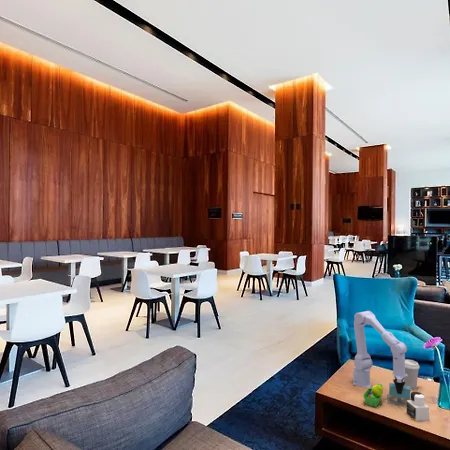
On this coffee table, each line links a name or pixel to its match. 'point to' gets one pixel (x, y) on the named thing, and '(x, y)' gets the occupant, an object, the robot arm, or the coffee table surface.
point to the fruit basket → (373, 395)
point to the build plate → (396, 402)
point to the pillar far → (404, 400)
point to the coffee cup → (411, 374)
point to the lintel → (404, 392)
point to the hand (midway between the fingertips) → (399, 390)
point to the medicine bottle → (417, 407)
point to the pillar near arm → (392, 398)
